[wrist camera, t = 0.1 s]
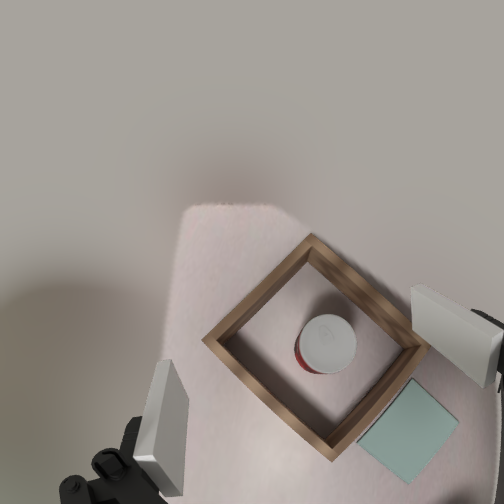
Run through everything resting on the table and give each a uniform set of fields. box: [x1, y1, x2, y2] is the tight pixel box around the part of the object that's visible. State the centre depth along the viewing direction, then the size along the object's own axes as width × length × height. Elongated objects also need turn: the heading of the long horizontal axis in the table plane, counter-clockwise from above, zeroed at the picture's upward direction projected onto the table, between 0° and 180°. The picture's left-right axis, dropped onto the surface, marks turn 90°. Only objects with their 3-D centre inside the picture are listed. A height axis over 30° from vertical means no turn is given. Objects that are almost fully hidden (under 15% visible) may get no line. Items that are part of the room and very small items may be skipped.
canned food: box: [294, 314, 357, 374], centre depth 44 cm, size 8×8×11 cm
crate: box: [202, 233, 431, 462], centre depth 46 cm, size 26×23×7 cm
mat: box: [356, 379, 459, 484], centre depth 42 cm, size 14×14×1 cm
